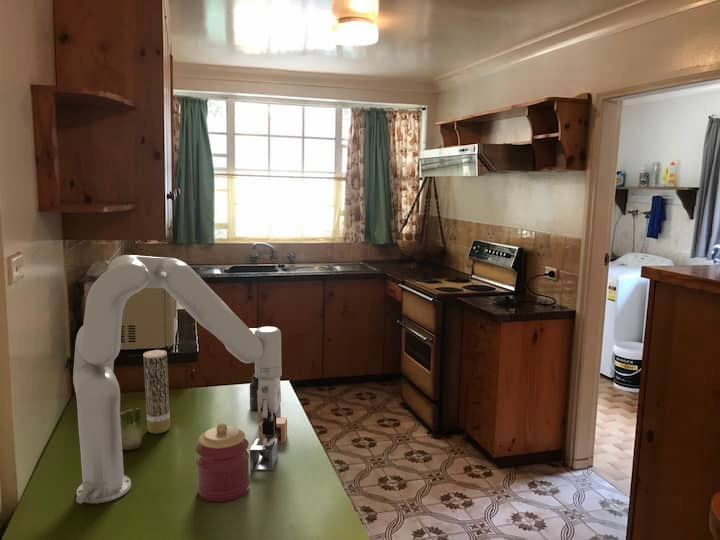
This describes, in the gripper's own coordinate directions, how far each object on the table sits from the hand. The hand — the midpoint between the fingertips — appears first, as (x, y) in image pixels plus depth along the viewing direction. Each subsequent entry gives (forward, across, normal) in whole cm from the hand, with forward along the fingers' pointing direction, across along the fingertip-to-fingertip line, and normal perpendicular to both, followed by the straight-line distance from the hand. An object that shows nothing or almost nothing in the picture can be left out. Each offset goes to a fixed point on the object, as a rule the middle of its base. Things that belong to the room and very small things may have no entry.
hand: (269, 430), depth 167 cm
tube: (+6, 0, 0) cm, 6 cm away
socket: (+6, +7, 0) cm, 9 cm away
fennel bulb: (+6, -1, +40) cm, 41 cm away
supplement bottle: (+6, +31, +10) cm, 33 cm away
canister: (+6, -22, +7) cm, 24 cm away
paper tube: (+6, +12, +38) cm, 40 cm away
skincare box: (+6, +17, +4) cm, 18 cm away
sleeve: (+6, -8, 0) cm, 10 cm away
